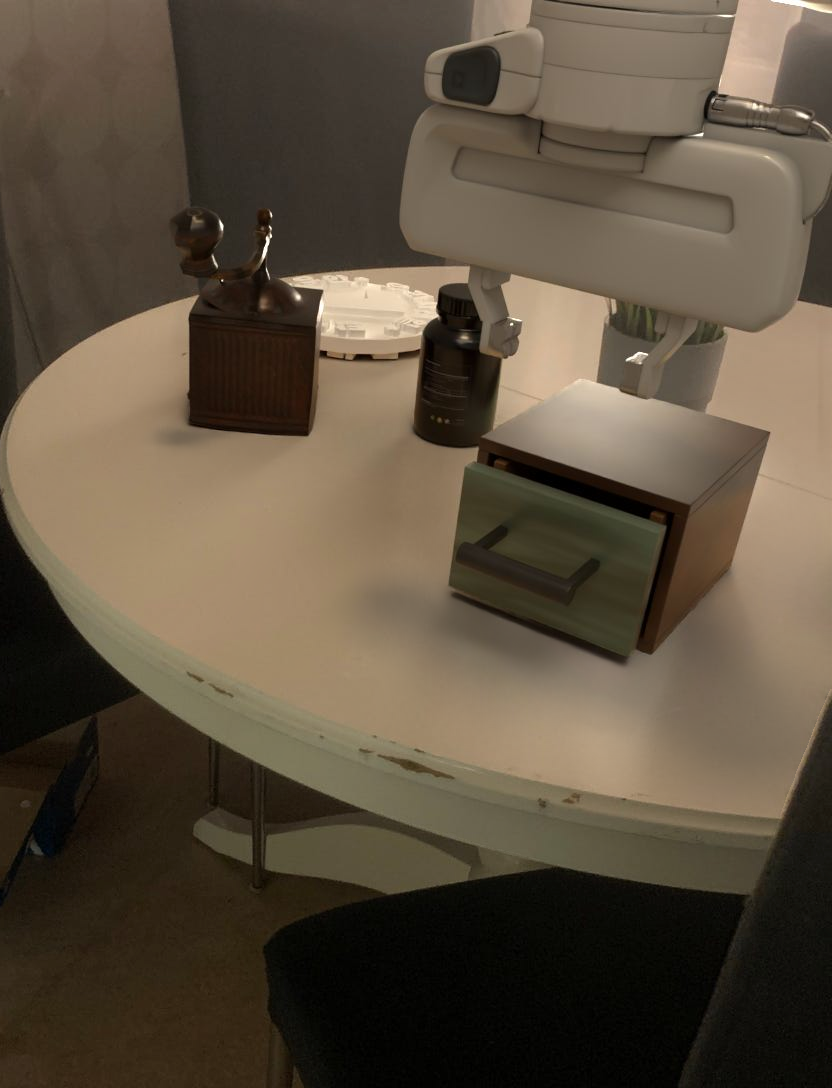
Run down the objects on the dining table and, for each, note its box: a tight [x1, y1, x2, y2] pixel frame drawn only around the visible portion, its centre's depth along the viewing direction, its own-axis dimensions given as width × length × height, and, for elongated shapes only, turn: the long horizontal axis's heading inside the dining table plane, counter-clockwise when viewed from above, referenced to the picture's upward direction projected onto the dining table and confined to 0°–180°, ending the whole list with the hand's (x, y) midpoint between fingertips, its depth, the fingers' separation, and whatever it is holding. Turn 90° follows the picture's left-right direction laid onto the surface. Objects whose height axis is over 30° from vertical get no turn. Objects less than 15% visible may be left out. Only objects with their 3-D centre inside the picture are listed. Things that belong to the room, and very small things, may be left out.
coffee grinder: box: [168, 205, 324, 436], centre depth 89 cm, size 16×11×18 cm
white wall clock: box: [288, 274, 438, 361], centre depth 115 cm, size 20×20×3 cm
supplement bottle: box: [413, 282, 504, 447], centre depth 92 cm, size 7×7×12 cm
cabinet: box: [476, 377, 771, 655], centre depth 73 cm, size 15×14×10 cm
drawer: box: [447, 457, 675, 658], centre depth 69 cm, size 18×12×8 cm
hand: (565, 373), depth 58 cm, fingers open, 7 cm apart
